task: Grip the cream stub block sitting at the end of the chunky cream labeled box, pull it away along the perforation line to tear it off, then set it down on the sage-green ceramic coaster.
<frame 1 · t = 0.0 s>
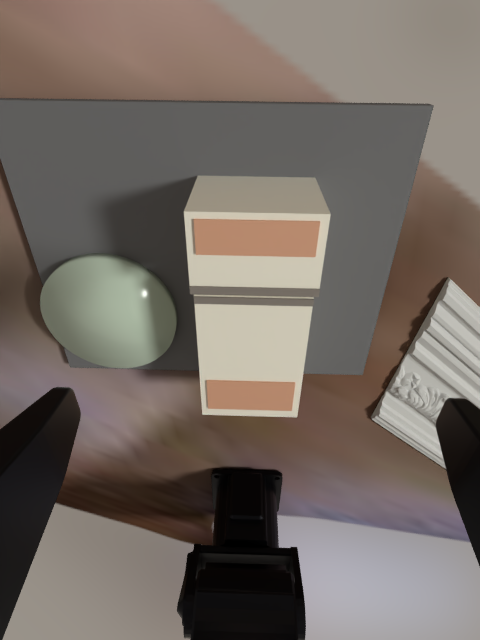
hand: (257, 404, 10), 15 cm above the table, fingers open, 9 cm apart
mat: (212, 261, 24), on the table
stub: (255, 214, 21), point 1 cm above the table, touching mat
cream labeled box: (251, 321, 26), resting on mat
coaster: (112, 311, 25), resting on mat
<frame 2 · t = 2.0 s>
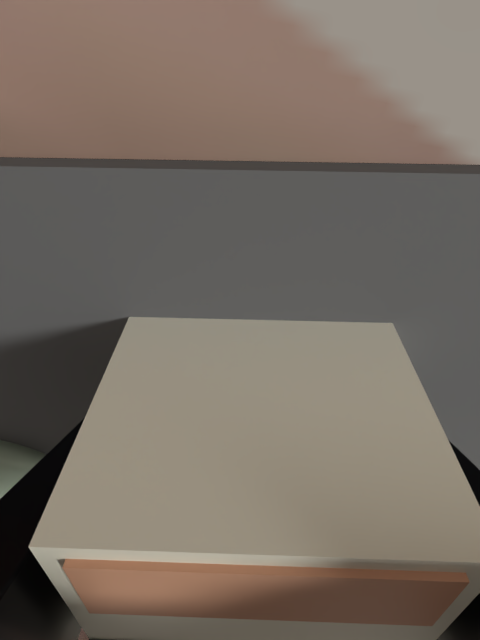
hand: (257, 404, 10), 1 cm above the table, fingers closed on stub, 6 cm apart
mat: (175, 438, 13), on the table
stub: (257, 382, 10), point 1 cm above the table, touching gripper, mat
coaster: (2, 507, 14), resting on mat
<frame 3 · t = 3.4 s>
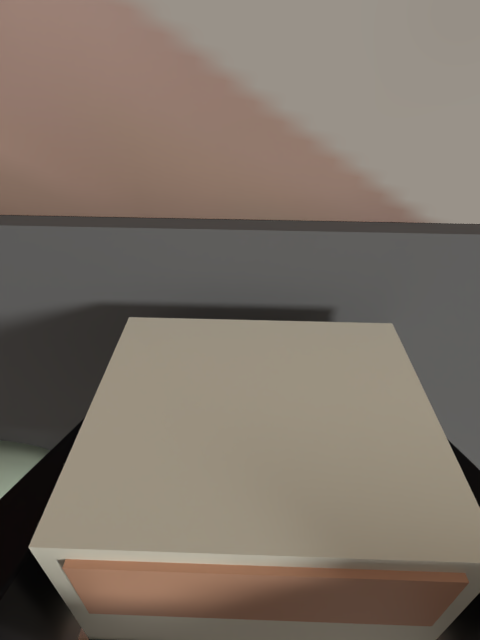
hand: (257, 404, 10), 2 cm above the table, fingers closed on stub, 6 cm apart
mat: (183, 443, 14), on the table
stub: (256, 382, 10), point 2 cm above the table, touching gripper
coaster: (28, 505, 16), resting on mat
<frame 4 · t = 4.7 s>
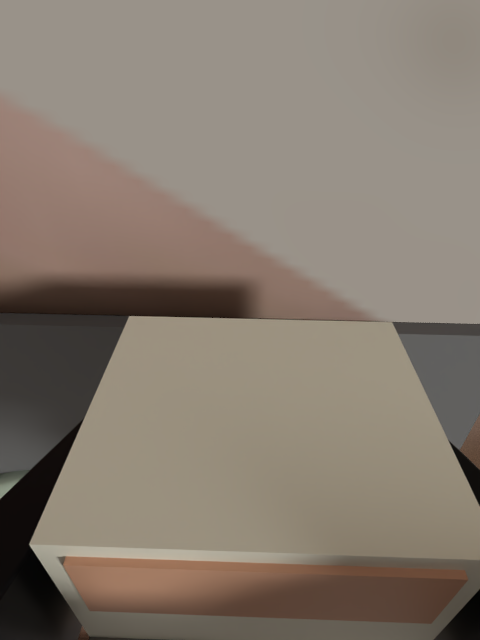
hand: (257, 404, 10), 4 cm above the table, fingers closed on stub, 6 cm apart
mat: (194, 471, 18), on the table
stub: (256, 381, 10), point 3 cm above the table, touching gripper
coaster: (64, 519, 19), resting on mat
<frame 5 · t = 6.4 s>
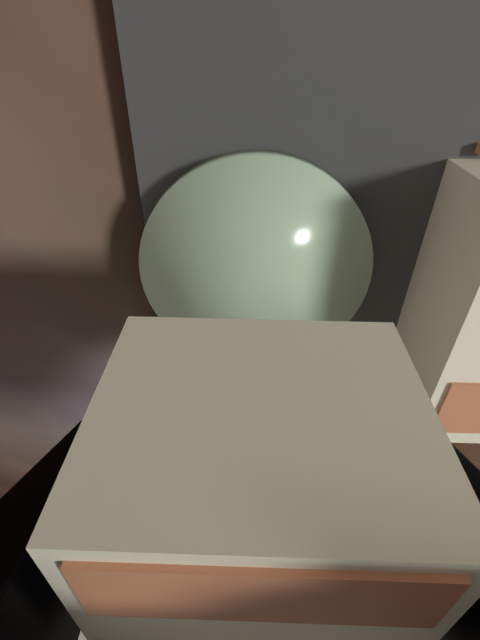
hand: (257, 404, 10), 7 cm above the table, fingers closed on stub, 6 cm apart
mat: (451, 169, 13), on the table
stub: (257, 382, 10), point 7 cm above the table, touching gripper
coaster: (254, 266, 15), resting on mat
when the fingers open (3 cm above the table, at t = 7.4 s): stub drops 1 cm, resting on coaster.
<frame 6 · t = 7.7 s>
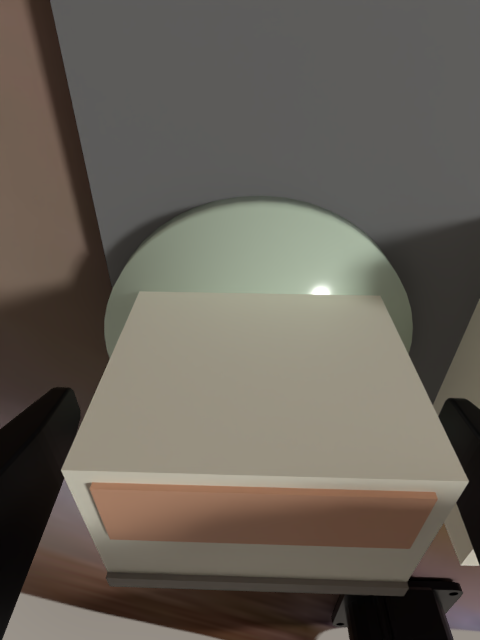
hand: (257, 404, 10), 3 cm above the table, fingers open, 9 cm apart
stub: (256, 353, 11), point 1 cm above the table, touching coaster
coaster: (256, 336, 12), resting on mat
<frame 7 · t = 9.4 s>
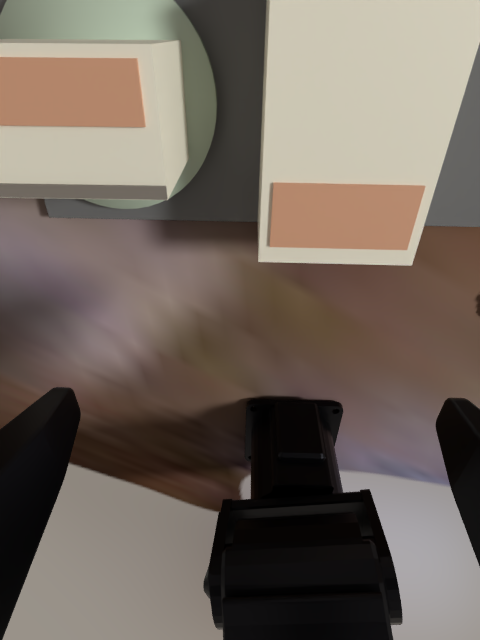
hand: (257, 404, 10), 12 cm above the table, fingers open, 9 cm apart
stub: (107, 102, 15), point 1 cm above the table, touching coaster
cream labeled box: (335, 118, 16), resting on mat
coaster: (113, 100, 16), resting on mat
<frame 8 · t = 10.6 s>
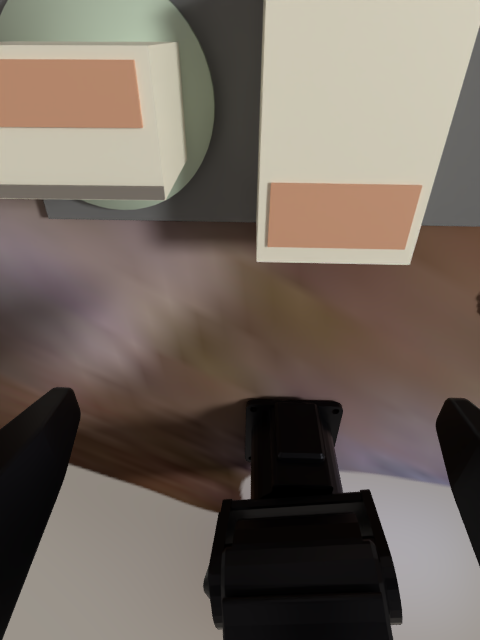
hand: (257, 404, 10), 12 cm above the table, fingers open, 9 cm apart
stub: (106, 104, 15), point 1 cm above the table, touching coaster
cream labeled box: (333, 118, 16), resting on mat
coaster: (111, 102, 16), resting on mat
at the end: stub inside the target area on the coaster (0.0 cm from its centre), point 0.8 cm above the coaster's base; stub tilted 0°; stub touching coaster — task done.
